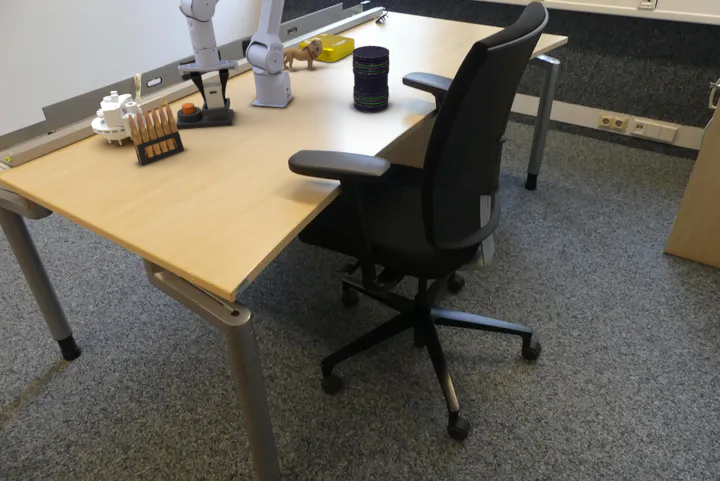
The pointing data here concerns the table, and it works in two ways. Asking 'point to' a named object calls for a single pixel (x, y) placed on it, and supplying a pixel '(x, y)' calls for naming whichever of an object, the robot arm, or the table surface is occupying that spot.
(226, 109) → the adapter socket
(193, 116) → the black docking base
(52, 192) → the table surface
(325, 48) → the element tile
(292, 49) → the lion figurine
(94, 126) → the mechanical part
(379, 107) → the storage jar
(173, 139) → the ammunition clip
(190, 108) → the power button
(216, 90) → the block
